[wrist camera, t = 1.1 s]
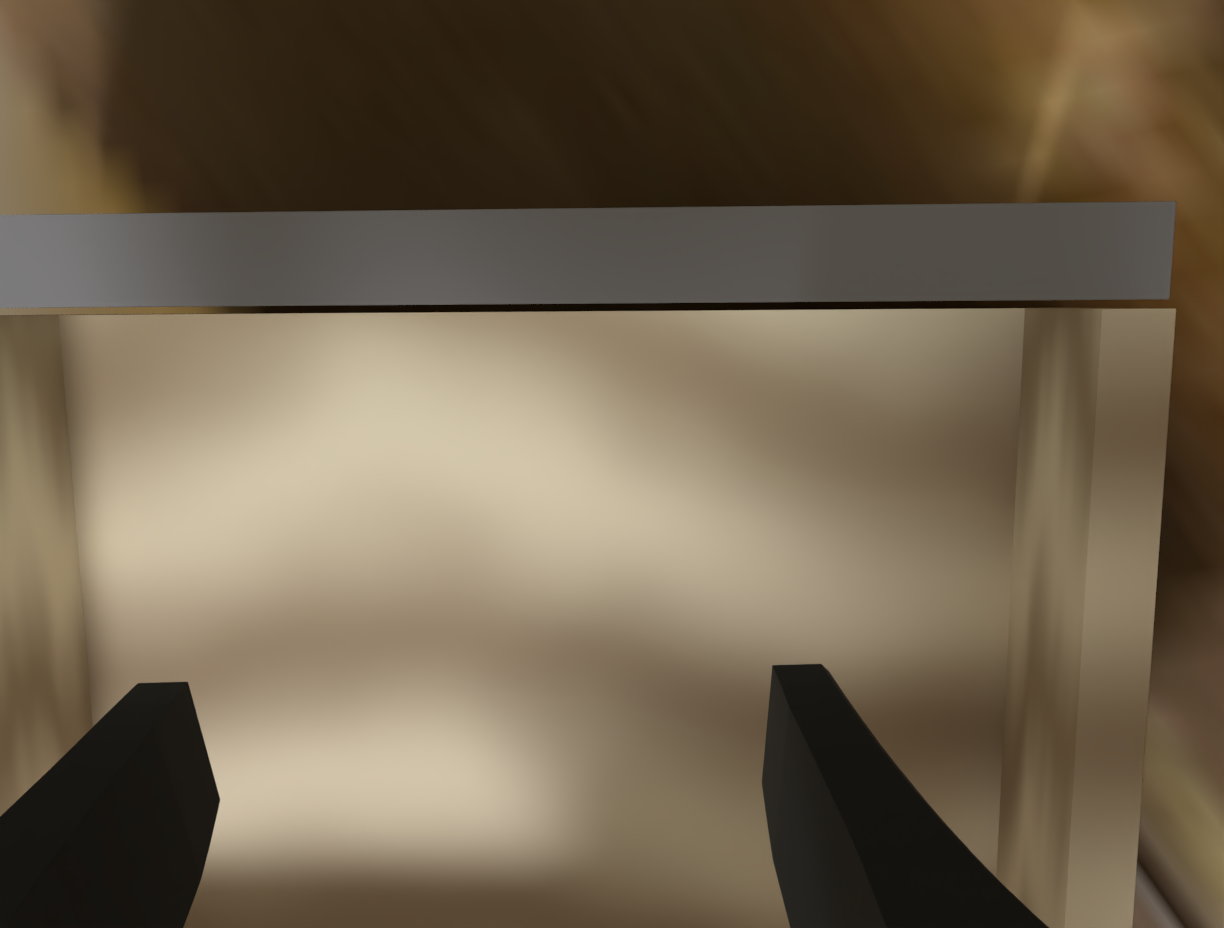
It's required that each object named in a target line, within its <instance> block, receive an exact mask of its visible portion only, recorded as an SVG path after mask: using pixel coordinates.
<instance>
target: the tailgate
mask: <svg viewBox="0 0 1224 928" xmlns="http://www.w3.org/2000/svg"><path fill="white" fill-rule="evenodd" d="M1175 211H1176V201H1165V202H1078V203H992V204H905V205H819V206H732V207H645V208H559V209H472V210H386V211H299V212H212V213H126V214H42V215H41V214H40V215H0V308H35V307H36V308H37V307H39V308H45V307H182V306H319V305H455V304H591V303H728V302H864V301H1001V300H1137V299H1169V297H1170V283H1171V268H1172V254H1173V240H1174V225H1175Z"/></svg>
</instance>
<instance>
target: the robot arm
mask: <svg viewBox="0 0 1224 928" xmlns="http://www.w3.org/2000/svg"><path fill="white" fill-rule="evenodd" d="M762 789H763V796H764V803H765V810H766V817H767V825H768V831H769V838H770V844H771V851H772V857H773V863H774V867H775V871H776V874H777V878H778V882H779V886H780V890H781V894H782V898H783V902H784V905H785V909H786V913H787V917H788V921H789V925H790V928H1049V927H1048V926H1047V925H1046V924H1045V923H1044V922H1042V921H1041V920H1040V919H1039V918H1038V917H1037V916H1036V915H1035V914H1033V913H1032V912H1031V911H1030V910H1029V909H1028V908H1027V907H1026V906H1025V905H1024V904H1023V903H1022V902H1021V901H1020V900H1019V899H1018V898H1017V897H1016V896H1015V895H1014V894H1013V893H1012V892H1010V891H1009V890H1008V889H1007V888H1006V887H1005V886H1004V885H1003V884H1002V883H1001V882H1000V881H999V880H998V879H997V878H996V877H995V876H994V875H993V874H992V873H991V872H990V871H989V870H988V869H987V868H986V867H985V866H984V865H983V863H982V862H981V861H980V860H979V859H978V858H977V857H976V856H975V855H974V854H973V853H972V852H971V851H970V850H969V849H968V848H967V847H966V845H965V844H964V843H963V842H962V841H961V840H960V839H959V838H958V837H957V836H956V834H955V833H954V832H953V831H952V830H951V829H950V828H949V827H948V826H947V825H946V823H945V822H944V821H943V820H942V819H941V818H940V817H939V815H938V814H937V813H936V812H935V811H934V810H933V808H932V807H931V806H930V805H929V804H928V803H927V802H926V800H925V799H924V798H923V797H922V795H921V794H920V793H919V792H918V791H917V789H916V788H915V787H914V786H913V784H912V783H911V782H910V781H909V780H908V778H907V777H906V776H905V775H904V773H903V772H902V771H901V770H900V768H899V767H898V766H897V765H896V764H895V762H894V761H893V760H892V758H891V757H890V756H889V755H888V753H887V752H886V751H885V749H884V748H883V747H882V746H881V744H880V743H879V742H878V740H877V739H876V738H875V736H874V735H873V733H872V732H871V731H870V729H869V728H868V727H867V725H866V724H865V723H864V721H863V720H862V719H861V717H860V716H859V714H858V713H857V712H856V710H855V709H854V707H853V706H852V704H851V703H850V702H849V700H848V699H847V697H846V696H845V694H844V693H843V691H842V690H841V688H840V687H839V686H838V684H837V683H836V681H835V680H834V678H833V676H832V675H831V673H830V672H829V671H828V670H827V669H826V668H825V667H824V666H823V665H822V664H796V665H772V675H771V686H770V697H769V708H768V719H767V730H766V741H765V752H764V763H763V774H762ZM219 803H220V797H219V793H218V790H217V786H216V782H215V779H214V775H213V771H212V768H211V764H210V760H209V757H208V753H207V749H206V746H205V742H204V739H203V735H202V731H201V728H200V724H199V720H198V717H197V713H196V709H195V706H194V702H193V698H192V695H191V691H190V688H189V684H188V682H158V683H138V684H136V685H135V686H134V687H133V688H132V689H131V690H130V691H129V692H128V693H127V694H126V695H125V696H124V697H123V698H122V699H121V700H120V701H119V702H118V703H117V704H116V705H115V706H114V707H113V708H112V709H111V710H110V711H108V712H107V713H106V714H105V715H104V716H103V717H102V718H101V719H100V720H99V721H98V722H97V723H96V724H95V725H94V726H93V727H92V728H91V729H90V730H89V731H88V732H87V733H86V734H85V735H84V736H83V737H82V738H81V739H80V740H79V741H78V742H77V743H76V744H75V745H74V746H73V747H72V748H71V749H70V750H69V751H68V752H67V753H66V754H65V755H64V756H63V757H62V758H61V759H60V760H59V761H58V762H57V763H56V764H55V765H54V766H53V767H52V768H51V769H50V770H48V771H47V772H46V773H45V774H44V775H43V776H42V777H41V778H40V779H39V780H38V781H37V782H36V783H35V784H34V785H33V786H32V787H31V788H30V789H29V790H28V791H26V792H25V793H24V794H23V795H22V796H21V797H20V798H19V799H18V800H17V801H16V802H15V803H14V804H13V805H12V806H11V807H10V808H9V809H8V810H7V811H5V812H4V813H3V814H2V815H1V816H0V928H183V927H184V924H185V922H186V919H187V916H188V914H189V911H190V908H191V906H192V903H193V900H194V898H195V895H196V892H197V889H198V887H199V884H200V881H201V878H202V874H203V870H204V866H205V862H206V858H207V855H208V851H209V847H210V843H211V838H212V834H213V830H214V825H215V821H216V816H217V812H218V808H219Z"/></svg>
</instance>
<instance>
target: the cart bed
mask: <svg viewBox="0 0 1224 928" xmlns="http://www.w3.org/2000/svg"><path fill="white" fill-rule="evenodd" d="M1175 317H1176V309H1165V308H955V309H812V310H669V311H526V312H383V313H240V314H104V315H103V314H102V315H98V314H97V315H3V316H2V315H1V316H0V816H1V815H2V814H3V813H4V812H5V811H7V810H8V809H9V808H10V807H11V806H12V805H13V804H14V803H15V802H16V801H17V800H18V799H19V798H20V797H21V796H22V795H23V794H24V793H25V792H26V791H28V790H29V789H30V788H31V787H32V786H33V785H34V784H35V783H36V782H37V781H38V780H39V779H40V778H41V777H42V776H43V775H44V774H45V773H46V772H47V771H48V770H50V769H51V768H52V767H53V766H54V765H55V764H56V763H57V762H58V761H59V760H60V759H61V758H62V757H63V756H64V755H65V754H66V753H67V752H68V751H69V750H70V749H71V748H72V747H73V746H74V745H75V744H76V743H77V742H78V741H79V740H80V739H81V738H82V737H83V736H84V735H85V734H86V733H87V732H88V731H89V730H90V729H91V728H92V727H93V726H94V725H95V724H96V723H97V722H98V721H99V720H100V719H101V718H102V717H103V716H104V715H105V714H106V713H107V712H108V711H110V710H111V709H112V708H113V707H114V706H115V705H116V704H117V703H118V702H119V701H120V700H121V699H122V698H123V697H124V696H125V695H126V694H127V693H128V692H129V691H130V690H131V689H132V688H133V687H134V686H135V685H136V684H138V683H158V682H188V684H189V688H190V691H191V695H192V698H193V702H194V706H195V709H196V713H197V717H198V720H199V724H200V728H201V731H202V735H203V739H204V742H205V746H206V749H207V753H208V757H209V760H210V764H211V768H212V771H213V775H214V779H215V782H216V786H217V790H218V793H219V797H220V803H219V808H218V812H217V816H216V821H215V825H214V830H213V834H212V838H211V843H210V847H209V851H208V855H207V858H206V862H205V866H204V870H203V874H202V878H201V881H200V884H199V887H198V889H197V892H196V895H195V898H194V900H193V903H192V906H191V908H190V911H189V914H188V916H187V919H186V922H185V924H184V927H183V928H790V925H789V921H788V917H787V913H786V909H785V905H784V902H783V898H782V894H781V890H780V886H779V882H778V878H777V874H776V871H775V867H774V863H773V857H772V851H771V844H770V838H769V831H768V825H767V817H766V810H765V803H764V796H763V789H762V774H763V763H764V752H765V741H766V730H767V719H768V708H769V697H770V686H771V675H772V665H796V664H822V665H823V666H824V667H825V668H826V669H827V670H828V671H829V672H830V673H831V675H832V676H833V678H834V680H835V681H836V683H837V684H838V686H839V687H840V688H841V690H842V691H843V693H844V694H845V696H846V697H847V699H848V700H849V702H850V703H851V704H852V706H853V707H854V709H855V710H856V712H857V713H858V714H859V716H860V717H861V719H862V720H863V721H864V723H865V724H866V725H867V727H868V728H869V729H870V731H871V732H872V733H873V735H874V736H875V738H876V739H877V740H878V742H879V743H880V744H881V746H882V747H883V748H884V749H885V751H886V752H887V753H888V755H889V756H890V757H891V758H892V760H893V761H894V762H895V764H896V765H897V766H898V767H899V768H900V770H901V771H902V772H903V773H904V775H905V776H906V777H907V778H908V780H909V781H910V782H911V783H912V784H913V786H914V787H915V788H916V789H917V791H918V792H919V793H920V794H921V795H922V797H923V798H924V799H925V800H926V802H927V803H928V804H929V805H930V806H931V807H932V808H933V810H934V811H935V812H936V813H937V814H938V815H939V817H940V818H941V819H942V820H943V821H944V822H945V823H946V825H947V826H948V827H949V828H950V829H951V830H952V831H953V832H954V833H955V834H956V836H957V837H958V838H959V839H960V840H961V841H962V842H963V843H964V844H965V845H966V847H967V848H968V849H969V850H970V851H971V852H972V853H973V854H974V855H975V856H976V857H977V858H978V859H979V860H980V861H981V862H982V863H983V865H984V866H985V867H986V868H987V869H988V870H989V871H990V872H991V873H992V874H993V875H994V876H995V877H996V878H997V879H998V880H999V881H1000V882H1001V883H1002V884H1003V885H1004V886H1005V887H1006V888H1007V889H1008V890H1009V891H1010V892H1012V893H1013V894H1014V895H1015V896H1016V897H1017V898H1018V899H1019V900H1020V901H1021V902H1022V903H1023V904H1024V905H1025V906H1026V907H1027V908H1028V909H1029V910H1030V911H1031V912H1032V913H1033V914H1035V915H1036V916H1037V917H1038V918H1039V919H1040V920H1041V921H1042V922H1044V923H1045V924H1046V925H1047V926H1048V927H1049V928H1132V923H1133V909H1134V895H1135V881H1136V867H1137V853H1138V839H1139V825H1140V810H1141V796H1142V782H1143V768H1144V754H1145V740H1146V726H1147V712H1148V698H1149V684H1150V670H1151V656H1152V641H1153V627H1154V613H1155V599H1156V585H1157V571H1158V557H1159V543H1160V529H1161V515H1162V501H1163V486H1164V472H1165V458H1166V444H1167V430H1168V416H1169V402H1170V388H1171V374H1172V360H1173V346H1174V332H1175Z"/></svg>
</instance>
